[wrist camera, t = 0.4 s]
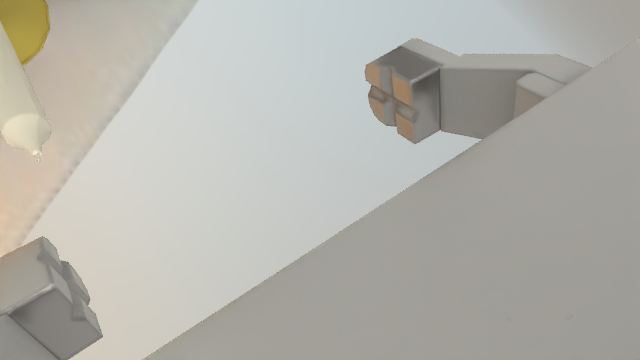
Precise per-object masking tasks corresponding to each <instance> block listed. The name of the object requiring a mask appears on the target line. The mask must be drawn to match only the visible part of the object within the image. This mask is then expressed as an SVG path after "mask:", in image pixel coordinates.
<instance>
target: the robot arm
mask: <svg viewBox="0 0 640 360" xmlns="http://www.w3.org/2000/svg"><path fill="white" fill-rule="evenodd" d="M365 77H366V81H367V82H369V83H370V84H371V85H372V86H371V89H370V91H369V94H368V98H369V104H370V107H371V109H372V111H373V113H374V115H375V116H376V117H377V118H378V120H379V121H380V122H382V123H383V124H385V125H387V126H396V127H397V132H398V134H400V135H401V136H403V137H404V138H406V139H407V140H409V141H411V142H412V143H414V144H417V143H418V142H420V141H422V140H423V139H425V138H427V137H429V136H431V135H432V134H434V133H436V132H437V131H439V130H441V131H444V132H449V133H454V134H459V135H464V136H469V137H474V138H479V139H482V140H481V141H479V142H478V143H476V144H475V145H473V146H472V147H470V148H469V149H467V150H465V151H464V152H462V153H461V154H459V155H458V156H456V157H455V158H453V159H451V160H450V161H449V162H447V163H445V164H444V165H442V166H441V167H439V168H437V169H436V170H434V171H433V172H431V173H430V174H428V175H427V176H425V177H424V178H422V179H420V180H419V181H417V182H416V183H414V184H413V185H411V186H410V187H408V188H407V189H405V190H403V191H402V192H400V193H399V194H397V195H396V196H395V197H393V198H391V199H390V200H388V201H386V202H385V203H383V204H382V205H380V206H379V207H377V208H376V209H374V210H373V211H371V212H369V213H368V214H366V215H365V216H363V217H362V218H360V219H359V220H357V221H356V222H354V223H353V224H351V225H350V226H348V227H346V228H345V229H343V230H342V231H340V232H339V233H337V234H336V235H334V236H333V237H331V238H329V239H328V240H326V241H325V242H323V243H322V244H320V245H319V246H317V247H316V248H314V249H312V250H311V251H309V252H308V253H306V254H305V255H303V256H302V257H300V258H299V259H297V260H296V261H294V262H293V263H291V264H289V265H288V266H286V267H285V268H283V269H282V270H280V271H279V272H277V273H276V274H274V275H272V276H271V277H269V278H268V279H266V280H265V281H263V282H262V283H260V284H259V285H257V286H255V287H254V288H252V289H251V290H249V291H248V292H246V293H245V294H243V295H242V296H240V297H238V298H237V299H235V300H234V301H232V302H231V303H229V304H228V305H226V306H224V307H223V308H221V309H220V310H218V311H217V312H215V313H214V314H212V315H211V316H209V317H207V318H206V319H204V320H203V321H201V322H200V323H198V324H197V325H195V326H194V327H192V328H190V329H189V330H187V331H186V332H185V333H183V334H181V335H180V336H178V337H177V338H175V339H173V340H172V341H170V342H169V343H167V344H166V345H164V346H163V347H161V348H160V349H158V350H156V351H155V352H153V353H152V354H150V355H149V356H147V357H146V358H144V359H143V360H640V38H638V39H637V40H635V41H634V42H632V43H630V44H629V45H627V46H626V47H624V48H623V49H621V50H620V51H618V52H617V53H615V54H613V55H612V56H610V57H609V58H607V59H606V60H604V61H603V62H601V63H600V64H598V65H597V66H595V67H593V68H592V67H590V66H587V65H584V64H582V63H579V62H576V61H574V60H571V59H568V58H565V57H563V56H560V55H556V54H555V55H554V54H553V55H551V54H548V55H547V54H463V55H461V56H457V55H455V54H453V53H451V52H448V51H446V50H444V49H441V48H439V47H437V46H434V45H432V44H430V43H427V42H425V41H423V40H421V39H418V38H416V39H415V38H414V39H411V40H409V41H407V42H406V43H404V44H402V45H401V46H398V47H397V48H396V49H394V50H392V51H391V52H389V53H387V54H385V55H384V56H381V57H380V58H378V59H376V60H374V61H372V62H370V63H369V64H367V65H366V68H365ZM89 302H90V297H89V294H88V292H87V289H86V287H85V285H84V284H83V282H82V280H81V278H80V277H79V275H78V274H77V272H76V271H75V270H74V268H73V267H72V266H71V265H70V264H69V263H68V262H66V261H61V260H60V259H59V256H58V252H57V249H56V248H55V247H54V246H53V244H51V242H49V240H48V239H47V238H45V237H43V236H42V237H40V238H38V239H36V240H34V241H32V242H30V243H28V244H26V245H24V246H22V247H20V248H18V249H16V250H14V251H12V252H10V253H8V254H6V255H4V256H2V257H1V258H0V360H68V359H70V358H71V357H73V356H74V355H76V354H77V353H79V352H80V351H82V350H83V349H85V348H86V347H88V346H90V345H91V344H93V343H94V342H96V341H97V340H99V339H100V338H102V337H103V335H102V332H101V329H100V326H99V323H98V320H97V317H96V314H95V313H94V312H93V311H92V310H91V309H90V307H89V306H88V304H89Z"/></svg>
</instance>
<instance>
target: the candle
mask: <svg viewBox="0 0 640 360" xmlns="http://www.w3.org/2000/svg"><path fill="white" fill-rule="evenodd" d="M49 30H50V23H49V11H48V5H47V3H46V1H45V0H0V131H1V134H2V136H3V138H4V139H5V141H6V142H7V143H8V144H9V145H11V146H12V147H14V148H17V149H23V150H27V151H28V152H29V153H30V154H31V155H32V156H33V157H37V161H38V162H40V156H41V154H42V145H43V144H44V143H45V142H46V141H47V140H48V139H49V137H50V134H51V125H50V123H49V121H48V119H47V117H46V115H45V112H44V110H43V108H42V106H41V104H40V102H39V100H38V98H37V96H36V94H35V92H34V90H33V88H32V86H31V84H30V81H29V79H28V77H27V75H26V73H25V71H24V69H23V67H22V66H23V65H26V64H27V63H28V62H29V61H30V60H31V59H32V58H33V57H34V56H35V55H36V54H37V53H38V52H39V51H40V50H41V49H42V48H43V45H44V43H45V40H46V37H47V35H48V32H49Z"/></svg>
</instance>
